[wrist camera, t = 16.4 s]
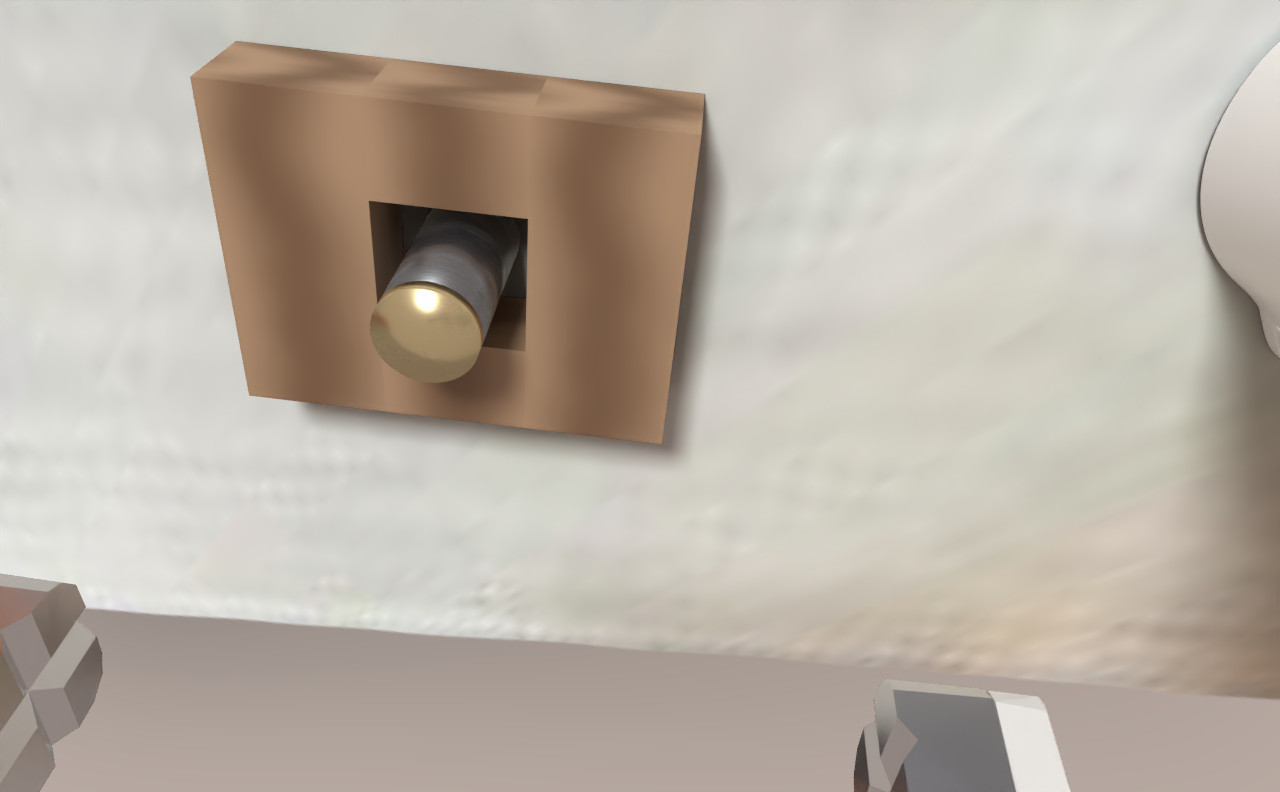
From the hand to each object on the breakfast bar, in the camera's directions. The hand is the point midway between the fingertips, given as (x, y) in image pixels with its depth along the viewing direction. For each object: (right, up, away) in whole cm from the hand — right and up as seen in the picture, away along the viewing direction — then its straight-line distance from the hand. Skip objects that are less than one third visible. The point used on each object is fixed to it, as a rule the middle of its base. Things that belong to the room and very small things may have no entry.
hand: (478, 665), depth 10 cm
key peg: (-5, +10, +32) cm, 34 cm away
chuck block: (-5, +10, +32) cm, 34 cm away
